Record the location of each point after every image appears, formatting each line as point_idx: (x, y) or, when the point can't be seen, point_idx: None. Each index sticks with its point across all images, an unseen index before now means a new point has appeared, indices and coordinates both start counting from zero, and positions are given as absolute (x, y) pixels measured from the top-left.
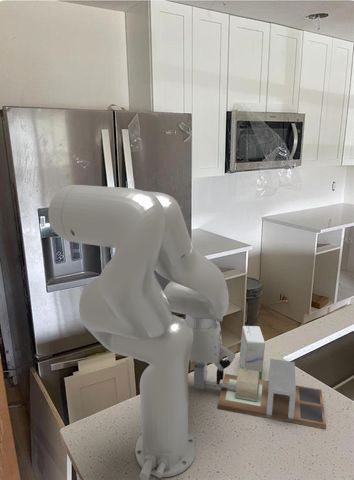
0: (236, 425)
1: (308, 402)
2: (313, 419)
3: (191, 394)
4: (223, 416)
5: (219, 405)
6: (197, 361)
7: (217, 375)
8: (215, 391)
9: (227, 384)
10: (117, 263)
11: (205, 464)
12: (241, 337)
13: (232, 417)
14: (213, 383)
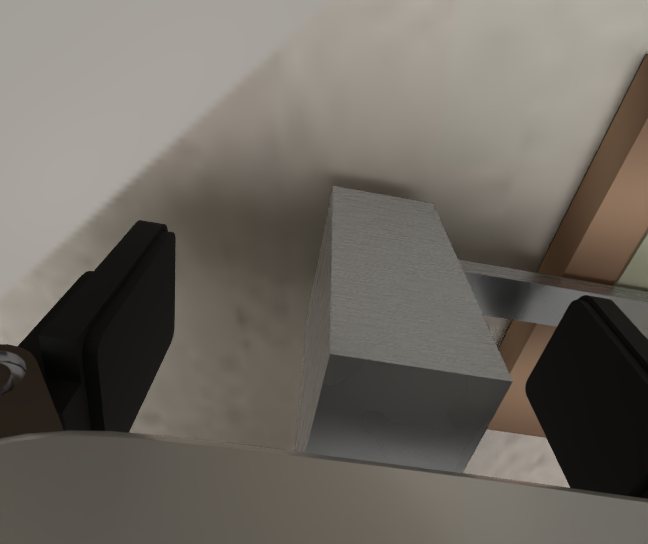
0: (552, 483)
1: None
2: None
3: (292, 301)
4: (495, 443)
5: (491, 425)
6: (332, 431)
7: (575, 484)
8: (490, 260)
9: (631, 302)
10: None
11: None
12: None
13: (547, 446)
14: (494, 299)
